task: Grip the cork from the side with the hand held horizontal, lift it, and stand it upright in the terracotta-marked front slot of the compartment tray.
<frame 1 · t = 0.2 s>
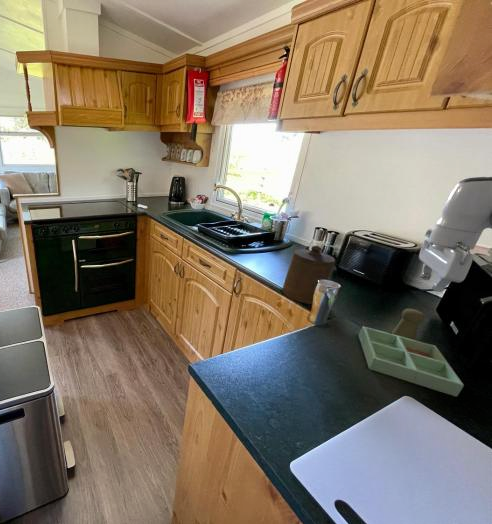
hand: (430, 284, 83), 22 cm above the countertop, tool pointing down, fingers open, 8 cm apart
wooden container: (301, 296, 121), on the countertop
cork: (401, 340, 95), on the countertop
beer glass: (316, 321, 102), on the countertop
compartment tray: (401, 362, 84), on the countertop
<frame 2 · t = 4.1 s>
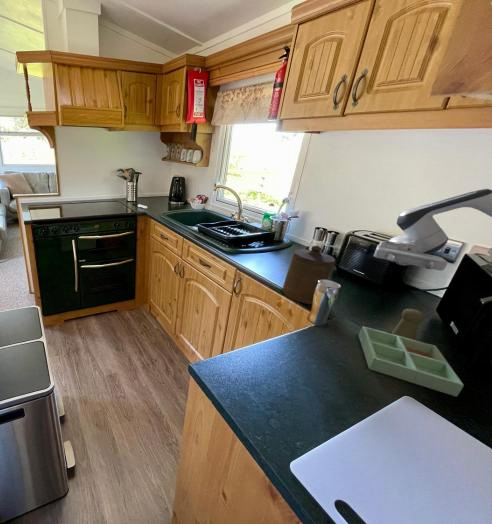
hand: (412, 263, 101), 22 cm above the countertop, tool horizontal, fingers open, 8 cm apart
nothing on the countertop moved.
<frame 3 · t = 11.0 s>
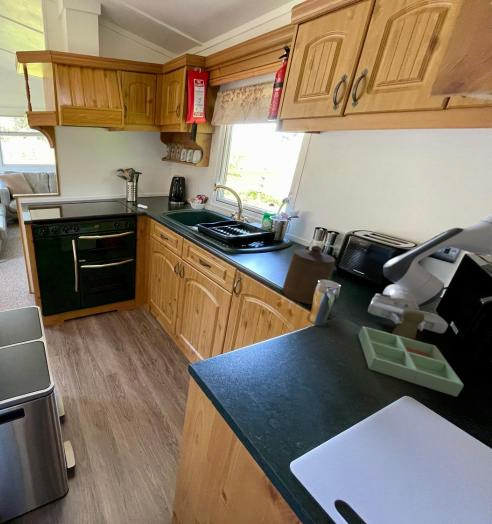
hand: (409, 325, 92), 6 cm above the countertop, tool horizontal, fingers closed on cork, 4 cm apart
cork: (401, 340, 95), on the countertop, touching gripper
everything else where it was.
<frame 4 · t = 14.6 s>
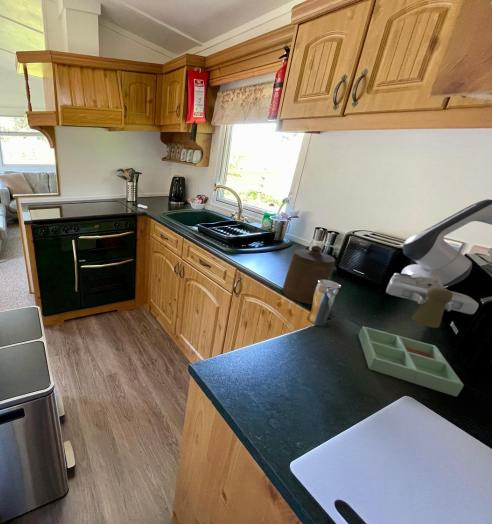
hand: (434, 305, 82), 17 cm above the countertop, tool horizontal, fingers closed on cork, 4 cm apart
cork: (425, 322, 85), point 11 cm above the countertop, touching gripper
everything else where it was.
when the fingers open (7 cm above the countertop, at t = 18.2 s): cork stays where it is, resting on compartment tray.
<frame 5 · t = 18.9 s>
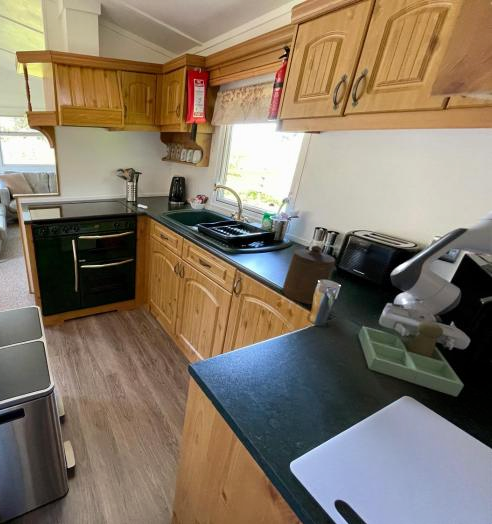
hand: (426, 340, 83), 7 cm above the countertop, tool horizontal, fingers open, 8 cm apart
cork: (416, 356, 86), point 1 cm above the countertop, touching compartment tray
everything else where it was.
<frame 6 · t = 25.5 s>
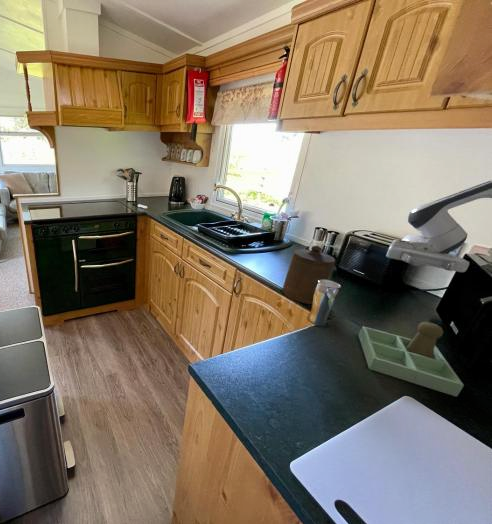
hand: (430, 264, 92), 25 cm above the countertop, tool horizontal, fingers open, 8 cm apart
nothing on the countertop moved.
at the end: cork inside the target area in the compartment tray (0.2 cm from its centre), point 0.8 cm above the compartment tray's base; cork tilted 0°; the gripper is holding nothing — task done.
